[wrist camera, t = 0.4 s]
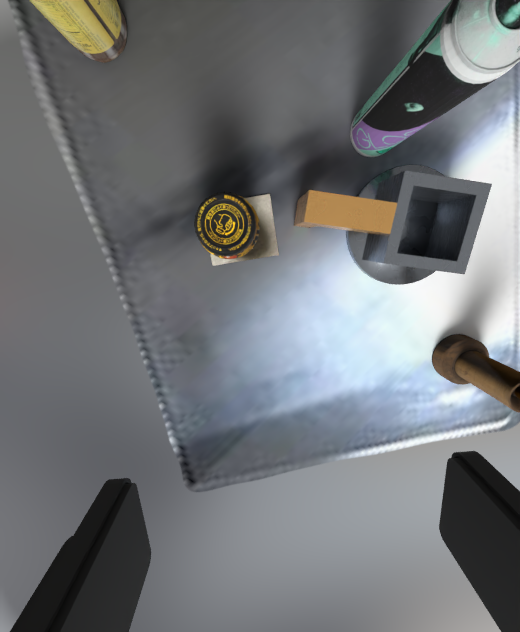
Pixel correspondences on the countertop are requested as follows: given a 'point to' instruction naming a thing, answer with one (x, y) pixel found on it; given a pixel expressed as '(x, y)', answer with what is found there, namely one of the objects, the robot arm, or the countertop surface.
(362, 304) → the countertop surface
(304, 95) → the countertop surface
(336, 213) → the grey square saucepan
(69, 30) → the sauce bottle
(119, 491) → the robot arm
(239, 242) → the condiment
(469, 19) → the spray can
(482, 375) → the brown wooden tall piece
